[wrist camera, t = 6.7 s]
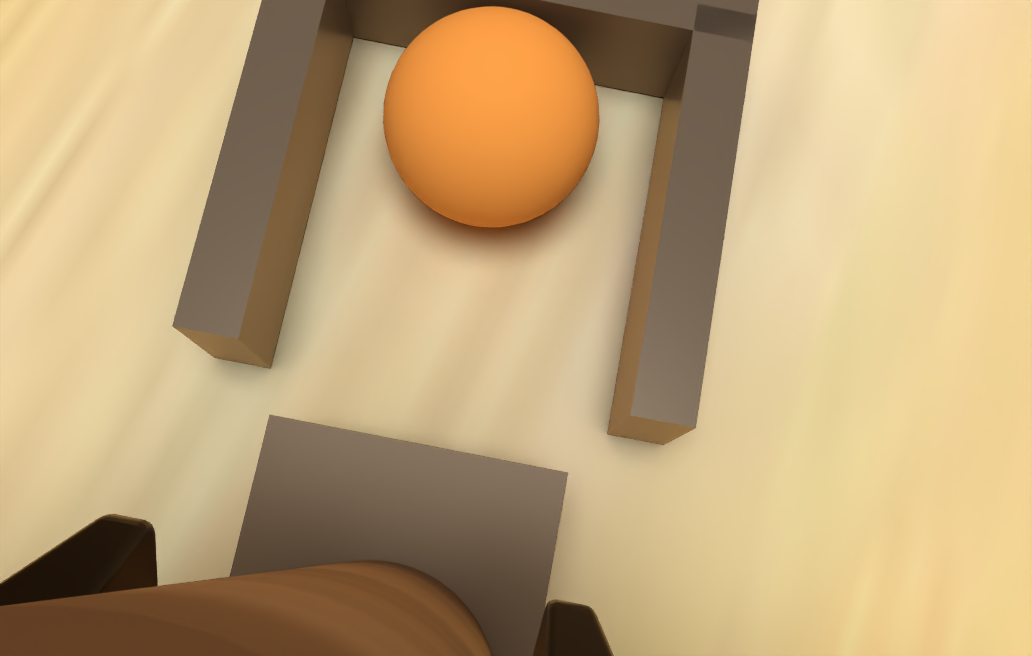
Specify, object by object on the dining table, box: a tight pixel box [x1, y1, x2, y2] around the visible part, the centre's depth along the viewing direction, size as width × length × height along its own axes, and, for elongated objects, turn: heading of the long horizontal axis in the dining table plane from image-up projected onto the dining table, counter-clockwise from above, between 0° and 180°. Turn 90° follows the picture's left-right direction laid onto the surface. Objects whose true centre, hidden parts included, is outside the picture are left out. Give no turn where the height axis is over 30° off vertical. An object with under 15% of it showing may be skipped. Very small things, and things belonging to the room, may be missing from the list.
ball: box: [383, 6, 599, 227], centre depth 16 cm, size 4×4×4 cm
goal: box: [173, 0, 759, 445], centre depth 17 cm, size 8×8×2 cm
